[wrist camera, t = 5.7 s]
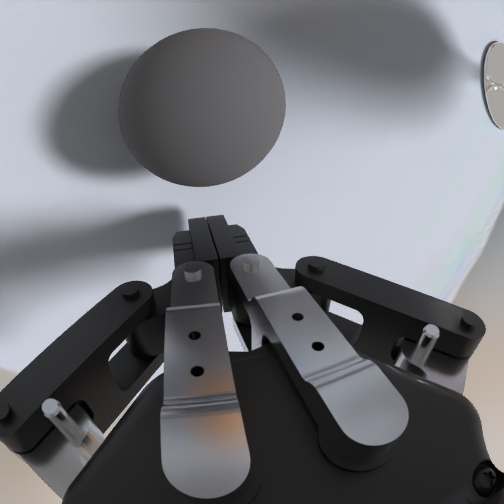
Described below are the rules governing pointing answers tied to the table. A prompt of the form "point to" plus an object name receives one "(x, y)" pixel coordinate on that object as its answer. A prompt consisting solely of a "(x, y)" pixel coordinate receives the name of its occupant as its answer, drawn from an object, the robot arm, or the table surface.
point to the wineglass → (495, 82)
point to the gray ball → (202, 107)
